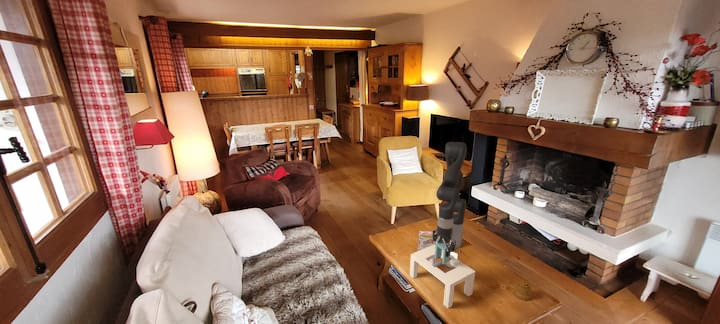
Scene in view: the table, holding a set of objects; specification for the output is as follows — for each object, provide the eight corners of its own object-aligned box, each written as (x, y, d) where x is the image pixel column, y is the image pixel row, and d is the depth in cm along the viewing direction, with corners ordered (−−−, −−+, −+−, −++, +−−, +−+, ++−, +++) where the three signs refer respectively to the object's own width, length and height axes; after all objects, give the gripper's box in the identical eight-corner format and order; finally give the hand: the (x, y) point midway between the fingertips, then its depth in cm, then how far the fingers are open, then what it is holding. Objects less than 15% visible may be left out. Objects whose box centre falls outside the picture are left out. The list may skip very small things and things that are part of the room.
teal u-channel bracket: (440, 255, 154) (441, 241, 151) (448, 261, 149) (450, 246, 146) (434, 258, 152) (435, 243, 149) (443, 264, 147) (445, 249, 144)
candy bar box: (418, 258, 177) (419, 234, 172) (417, 253, 182) (418, 230, 177) (436, 259, 176) (438, 235, 171) (435, 254, 181) (437, 231, 176)
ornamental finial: (533, 299, 145) (522, 302, 143) (522, 289, 151) (510, 292, 149) (536, 286, 142) (524, 289, 140) (524, 276, 149) (512, 279, 147)
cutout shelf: (432, 264, 171) (434, 242, 166) (472, 294, 148) (475, 269, 144) (409, 275, 162) (410, 252, 157) (447, 308, 139) (450, 282, 135)
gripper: (461, 228, 140) (458, 258, 145) (439, 216, 152) (437, 244, 157) (451, 233, 136) (448, 263, 141) (429, 220, 148) (427, 248, 153)
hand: (442, 253), depth 149 cm, fingers closed on teal u-channel bracket, 6 cm apart
